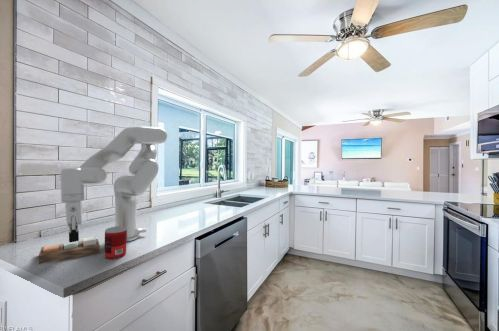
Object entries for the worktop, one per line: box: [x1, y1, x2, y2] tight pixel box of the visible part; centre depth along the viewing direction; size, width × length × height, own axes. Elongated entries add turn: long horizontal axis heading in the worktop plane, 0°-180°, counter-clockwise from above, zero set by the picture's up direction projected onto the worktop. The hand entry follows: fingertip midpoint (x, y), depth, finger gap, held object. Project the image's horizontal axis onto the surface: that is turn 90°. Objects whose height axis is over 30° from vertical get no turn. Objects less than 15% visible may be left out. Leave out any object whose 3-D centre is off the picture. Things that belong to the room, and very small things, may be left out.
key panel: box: [37, 238, 101, 265], centre depth 94 cm, size 19×11×3 cm, turn 128°
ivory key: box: [82, 236, 97, 246], centre depth 98 cm, size 5×5×3 cm
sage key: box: [63, 241, 79, 249], centre depth 94 cm, size 5×5×3 cm
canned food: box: [103, 226, 128, 260], centre depth 93 cm, size 8×8×11 cm
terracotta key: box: [43, 244, 59, 253], centre depth 90 cm, size 5×5×3 cm
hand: (74, 241), depth 95 cm, fingers closed
